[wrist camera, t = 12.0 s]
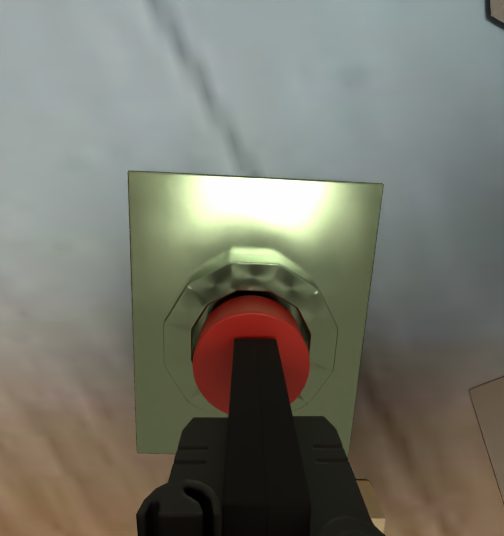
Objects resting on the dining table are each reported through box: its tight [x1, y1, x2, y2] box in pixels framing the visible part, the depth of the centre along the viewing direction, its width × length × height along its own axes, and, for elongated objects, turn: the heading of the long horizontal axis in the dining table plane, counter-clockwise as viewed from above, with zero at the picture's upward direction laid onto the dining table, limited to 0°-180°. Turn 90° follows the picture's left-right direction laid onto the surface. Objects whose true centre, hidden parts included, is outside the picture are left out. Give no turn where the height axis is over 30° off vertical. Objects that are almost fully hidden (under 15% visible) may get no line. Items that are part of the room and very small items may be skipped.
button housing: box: [128, 171, 384, 458], centre depth 16 cm, size 14×11×4 cm
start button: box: [192, 295, 310, 415], centre depth 14 cm, size 4×4×2 cm
